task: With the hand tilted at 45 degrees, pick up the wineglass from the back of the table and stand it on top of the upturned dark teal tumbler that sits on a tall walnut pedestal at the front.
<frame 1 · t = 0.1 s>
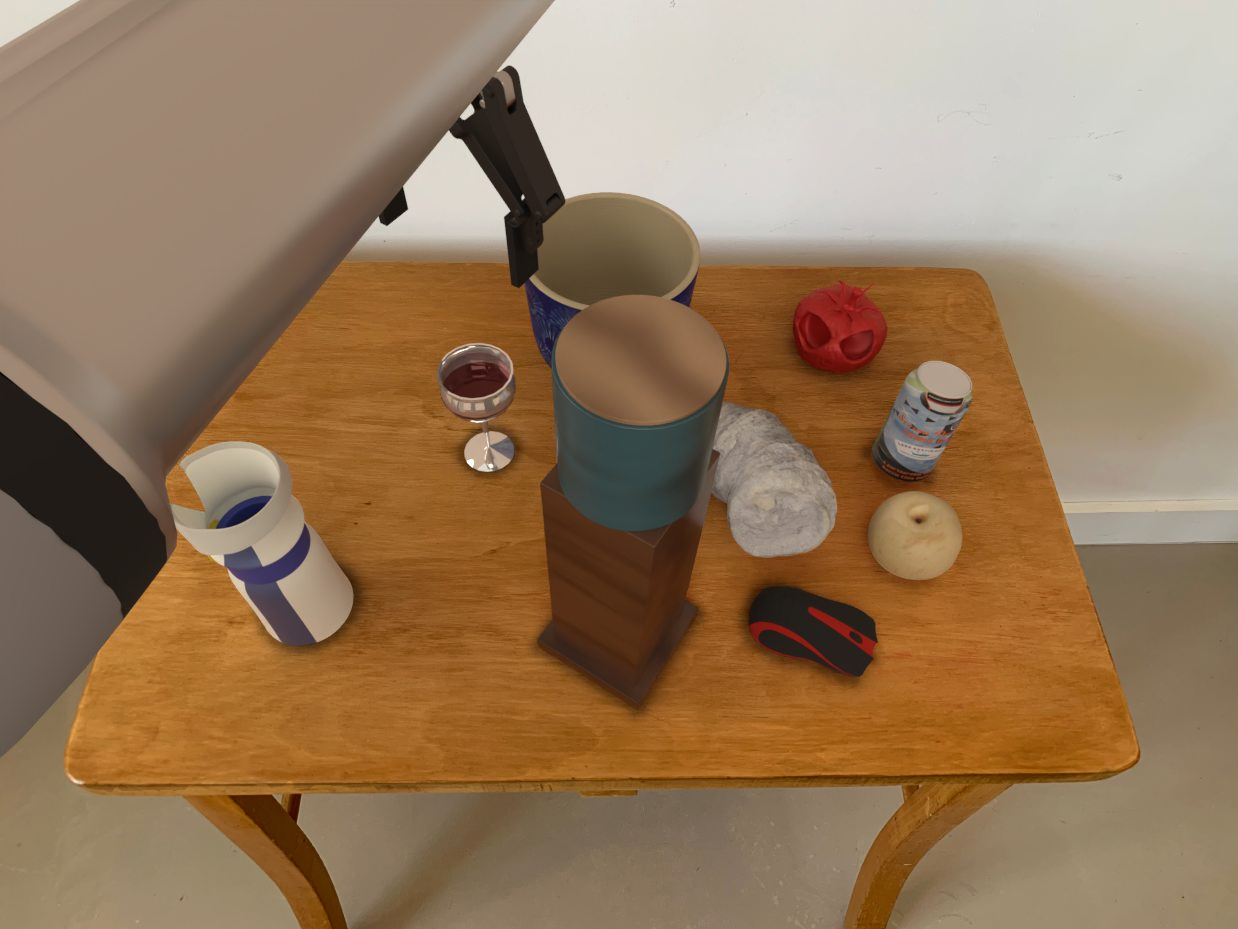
hand: (457, 246, 65), 21 cm above the table, tool pointing down, fingers open, 13 cm apart
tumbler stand: (618, 630, 68), on the table
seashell: (734, 496, 77), on the table
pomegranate: (830, 351, 88), on the table
beverage can: (899, 461, 80), on the table
apple: (901, 553, 74), on the table
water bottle: (306, 607, 69), on the table
wineglass: (489, 452, 79), on the table
computer mouse: (808, 633, 69), on the table
planter: (607, 359, 86), on the table
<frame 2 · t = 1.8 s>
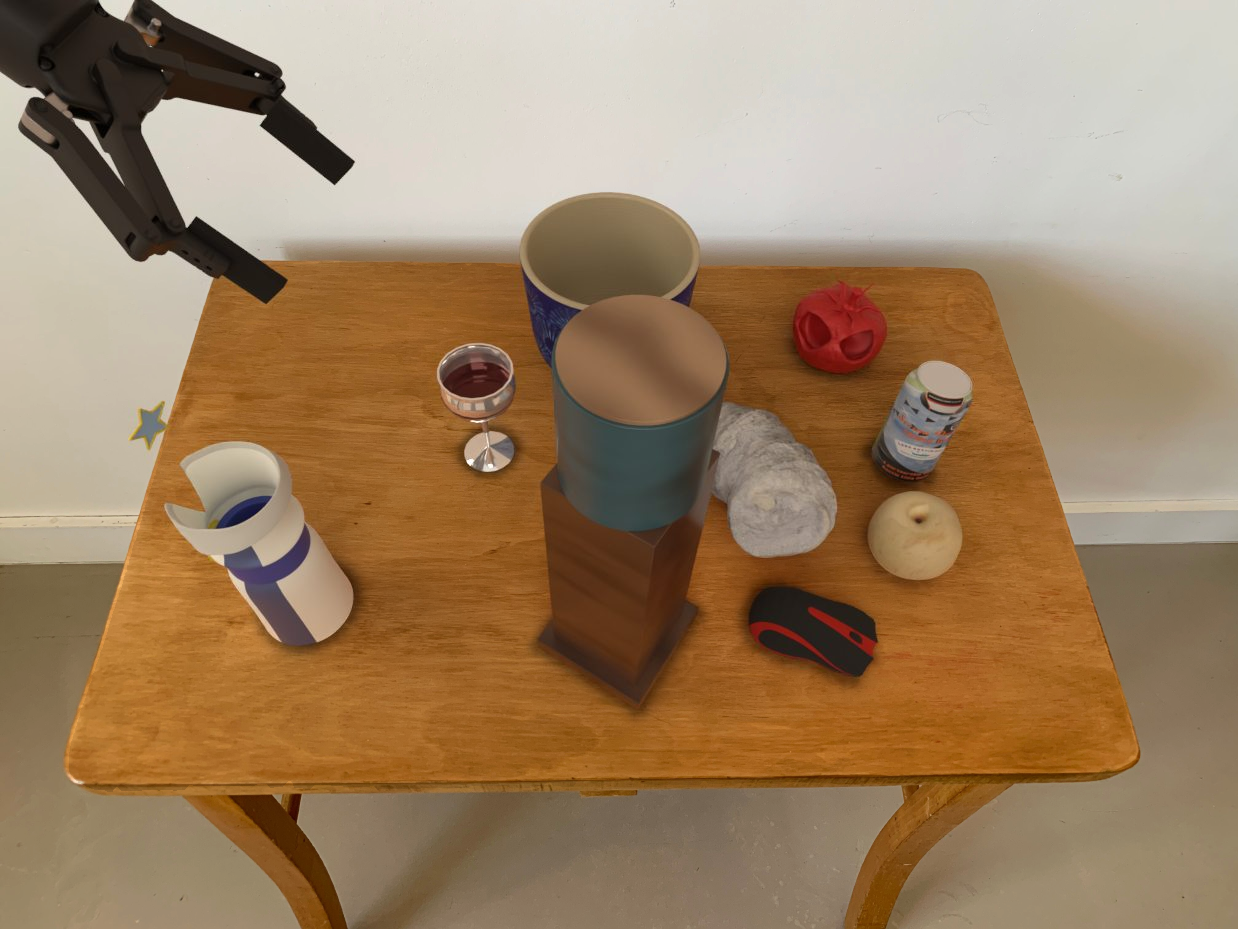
hand: (313, 229, 58), 26 cm above the table, tool tilted 45°, fingers open, 13 cm apart
nothing on the table moved.
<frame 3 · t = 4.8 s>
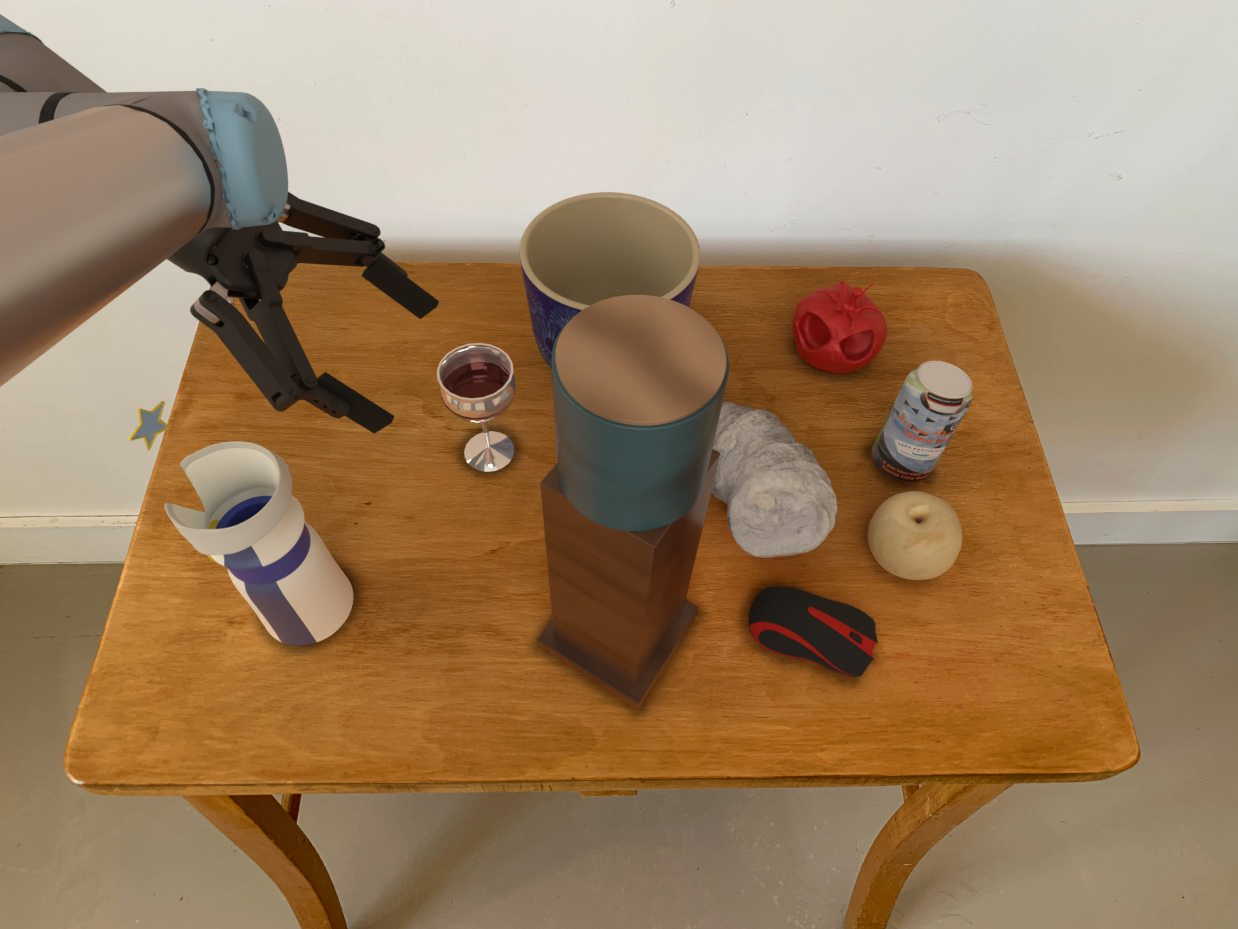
hand: (408, 364, 70), 12 cm above the table, tool tilted 45°, fingers open, 13 cm apart
nothing on the table moved.
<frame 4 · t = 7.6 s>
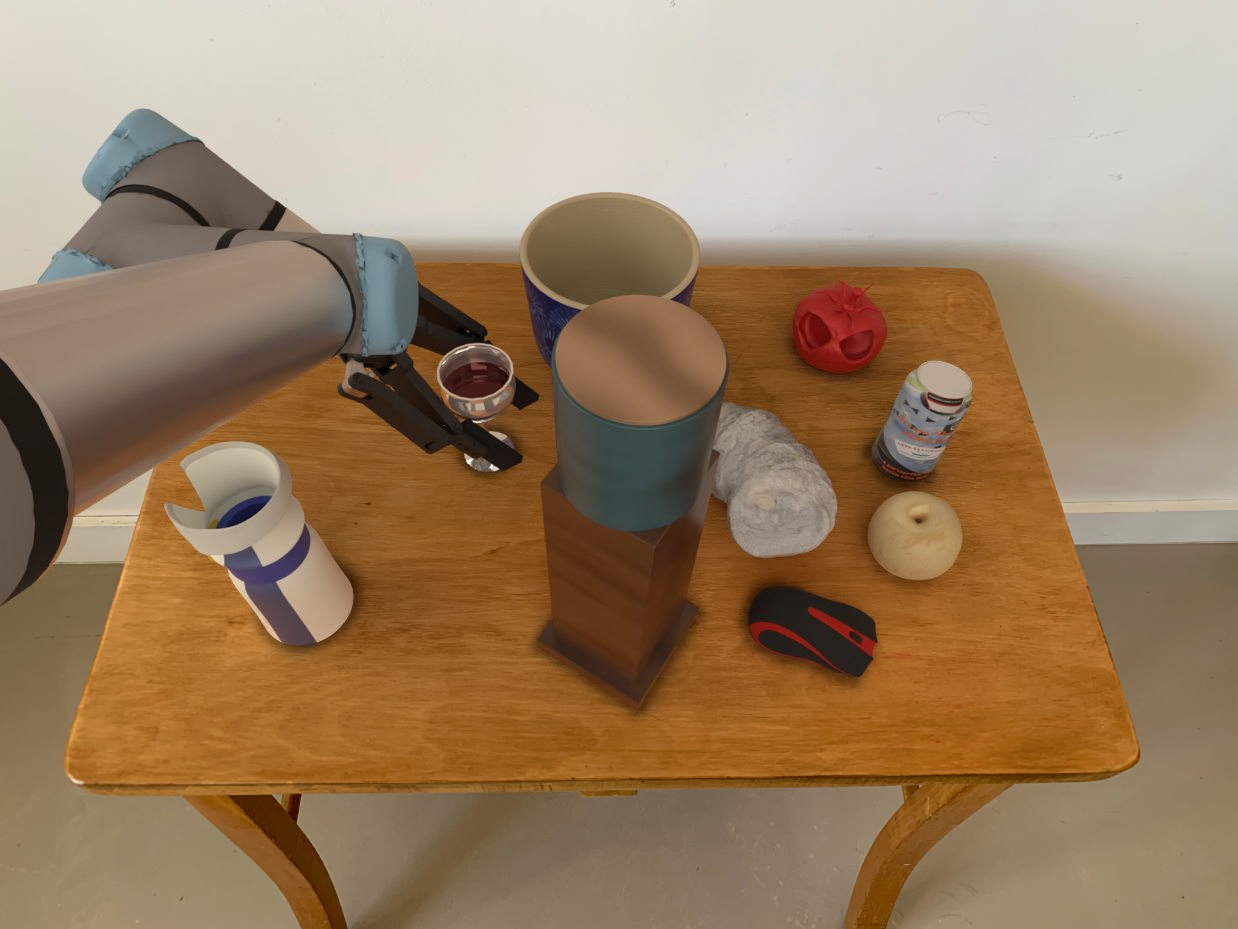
hand: (521, 432, 75), 4 cm above the table, tool tilted 45°, fingers closed on wineglass, 7 cm apart
wineglass: (489, 452, 79), on the table, touching gripper
everything else where it was.
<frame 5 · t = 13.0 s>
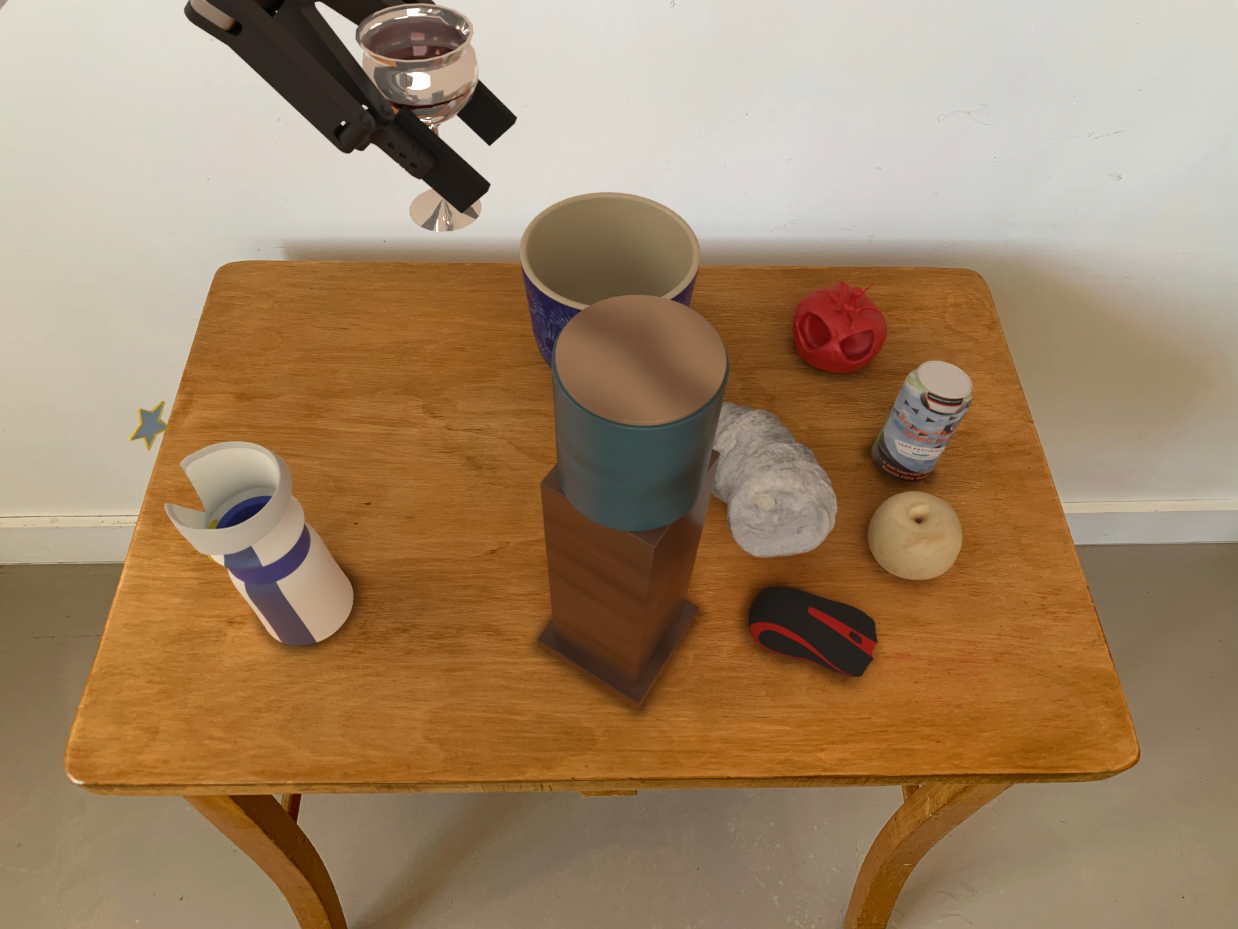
hand: (489, 163, 51), 33 cm above the table, tool tilted 45°, fingers closed on wineglass, 7 cm apart
wineglass: (446, 210, 55), point 29 cm above the table, touching gripper
everything else where it was.
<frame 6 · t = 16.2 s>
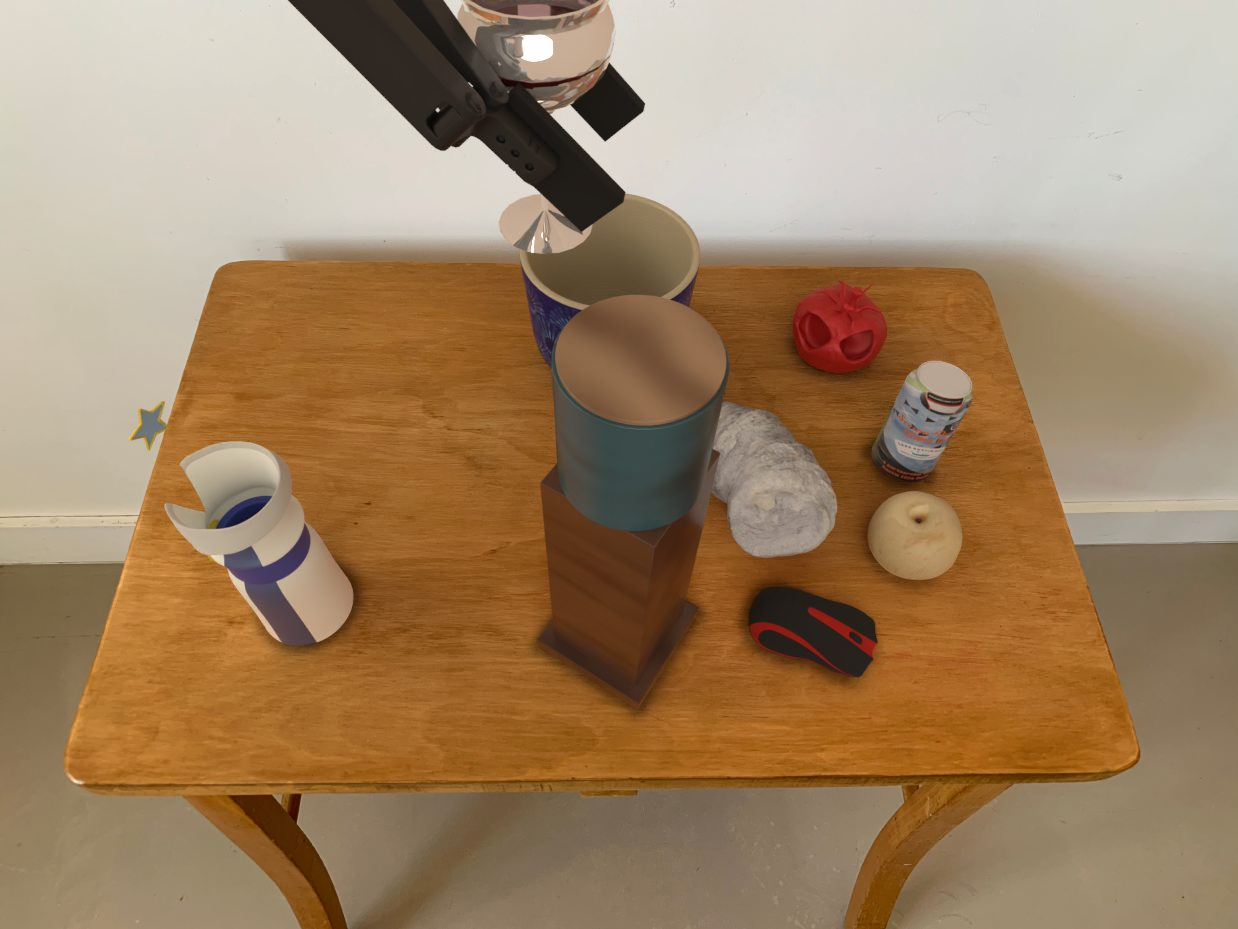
hand: (614, 164, 38), 41 cm above the table, tool tilted 45°, fingers closed on wineglass, 7 cm apart
wineglass: (546, 225, 42), point 37 cm above the table, touching gripper
everything else where it was.
when the fingers open (39 cm above the table, at t = 18.7 s): wineglass stays where it is, resting on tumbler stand.
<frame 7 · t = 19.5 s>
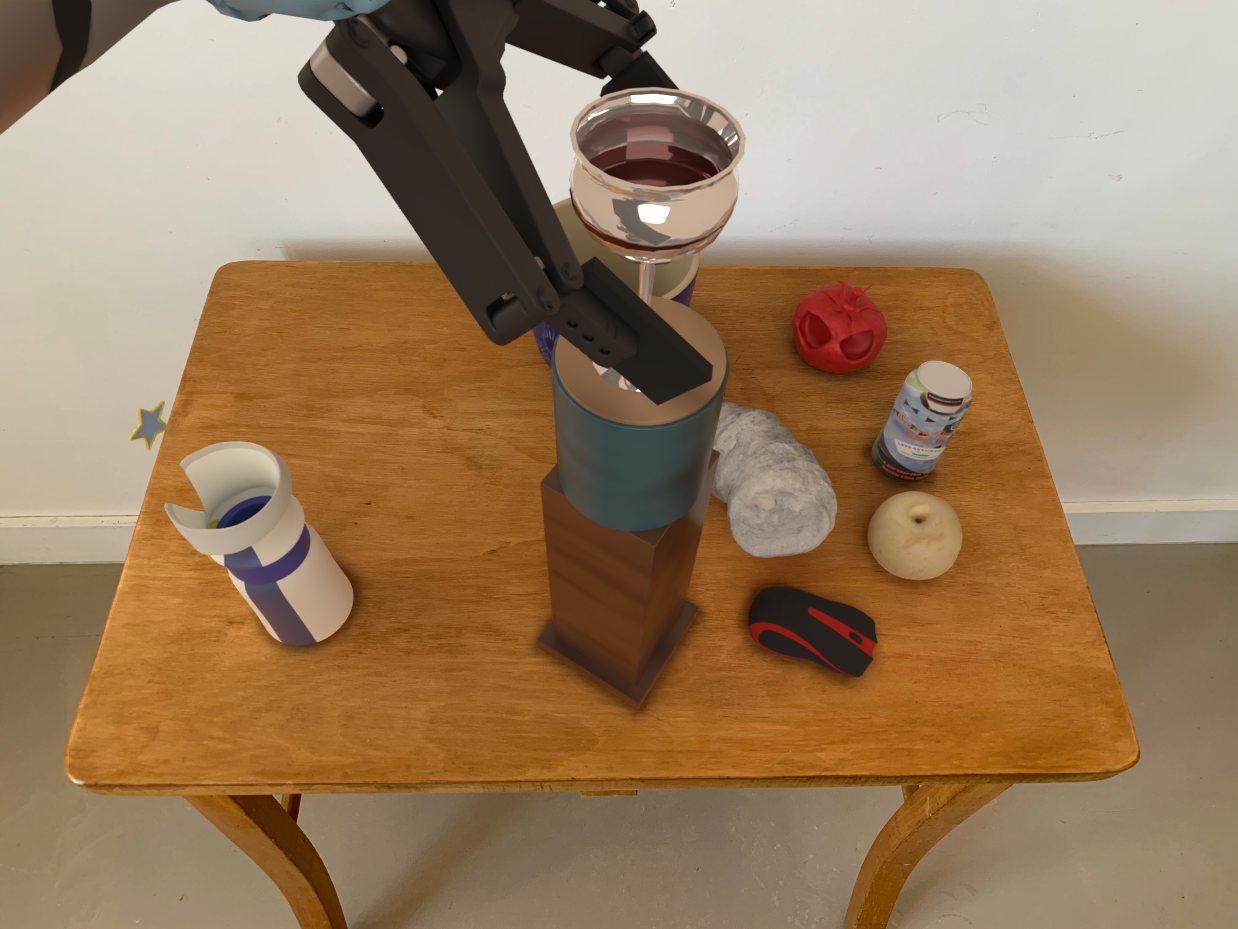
hand: (700, 269, 35), 41 cm above the table, tool tilted 45°, fingers open, 13 cm apart
wineglass: (640, 356, 40), point 35 cm above the table, touching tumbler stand
everything else where it was.
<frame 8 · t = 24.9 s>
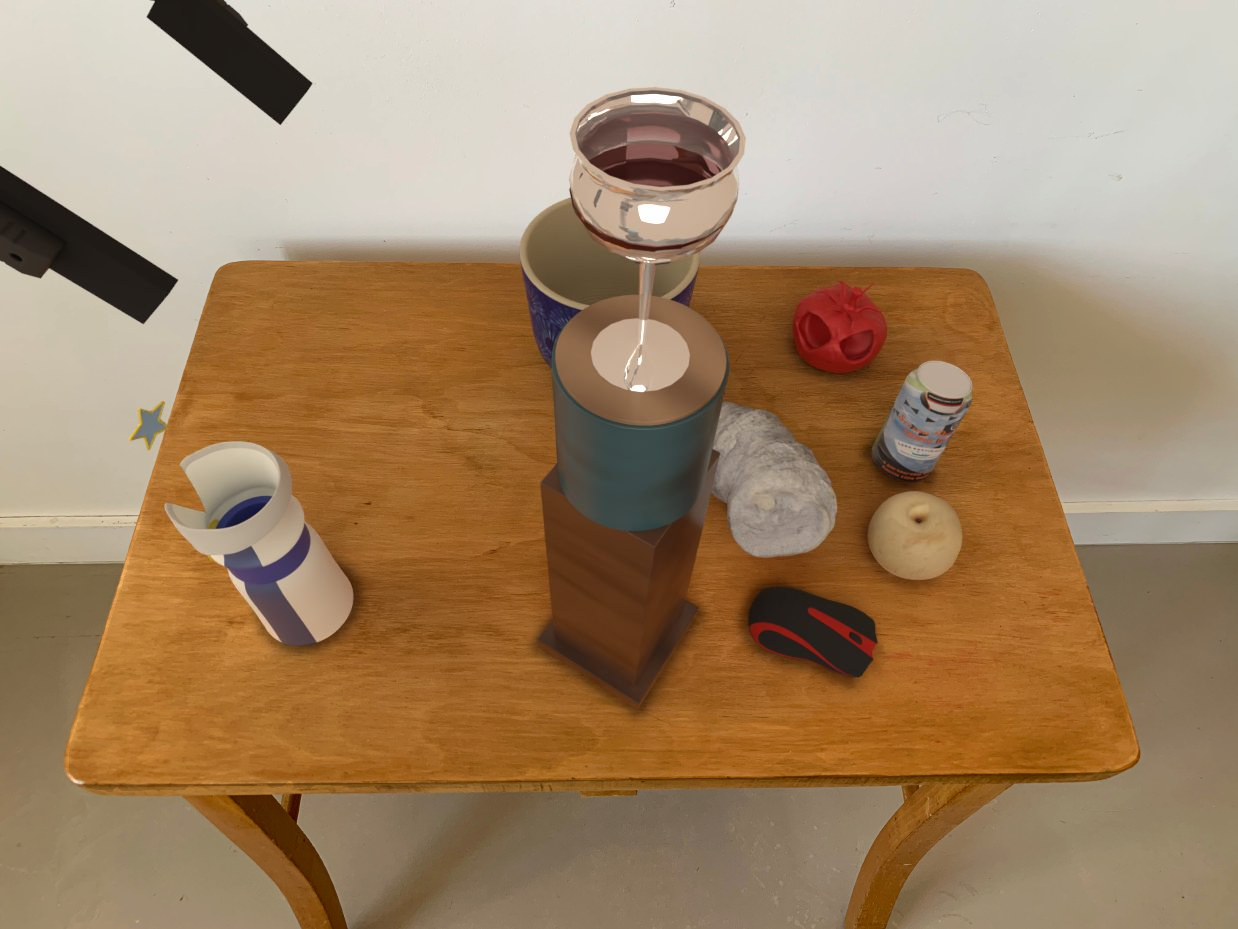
hand: (237, 193, 34), 43 cm above the table, tool tilted 45°, fingers open, 13 cm apart
nothing on the table moved.
at the end: wineglass 0.0 cm off-centre on the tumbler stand, point 34.8 cm above the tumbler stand's base; wineglass tilted 0°; the gripper is holding nothing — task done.
